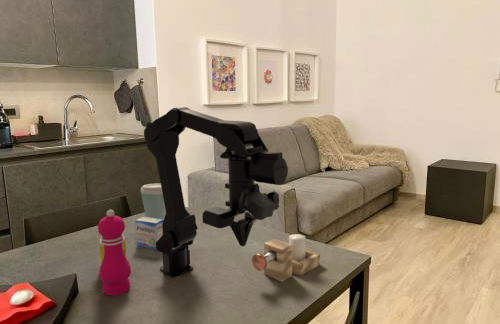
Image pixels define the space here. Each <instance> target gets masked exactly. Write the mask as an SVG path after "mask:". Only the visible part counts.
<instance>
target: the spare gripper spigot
mask: <svg viewBox="0 0 500 324" xmlns="http://www.w3.org/2000/svg"><path fill="white" fill-rule="evenodd" d="M306 240H307V239H306V236H305V235H304V234H299V233H298V234H295V233H294V234H291V235H289V236H288V244H291V245H292V259H293V260H295V261H298V262H301V261H302V260H304V259H305V249H306Z"/></svg>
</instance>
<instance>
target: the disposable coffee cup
mask: <svg viewBox="0 0 500 324" xmlns="http://www.w3.org/2000/svg"><path fill="white" fill-rule="evenodd" d="M140 195H141V198H142V204H143V209H144V213H145V214H144V215H145V217H149V218H157V219H164V218H165V215H166V209H165V204H164V199H163V193H162V188H161V183H148V184H144V185H142V186H141V188H140Z"/></svg>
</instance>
